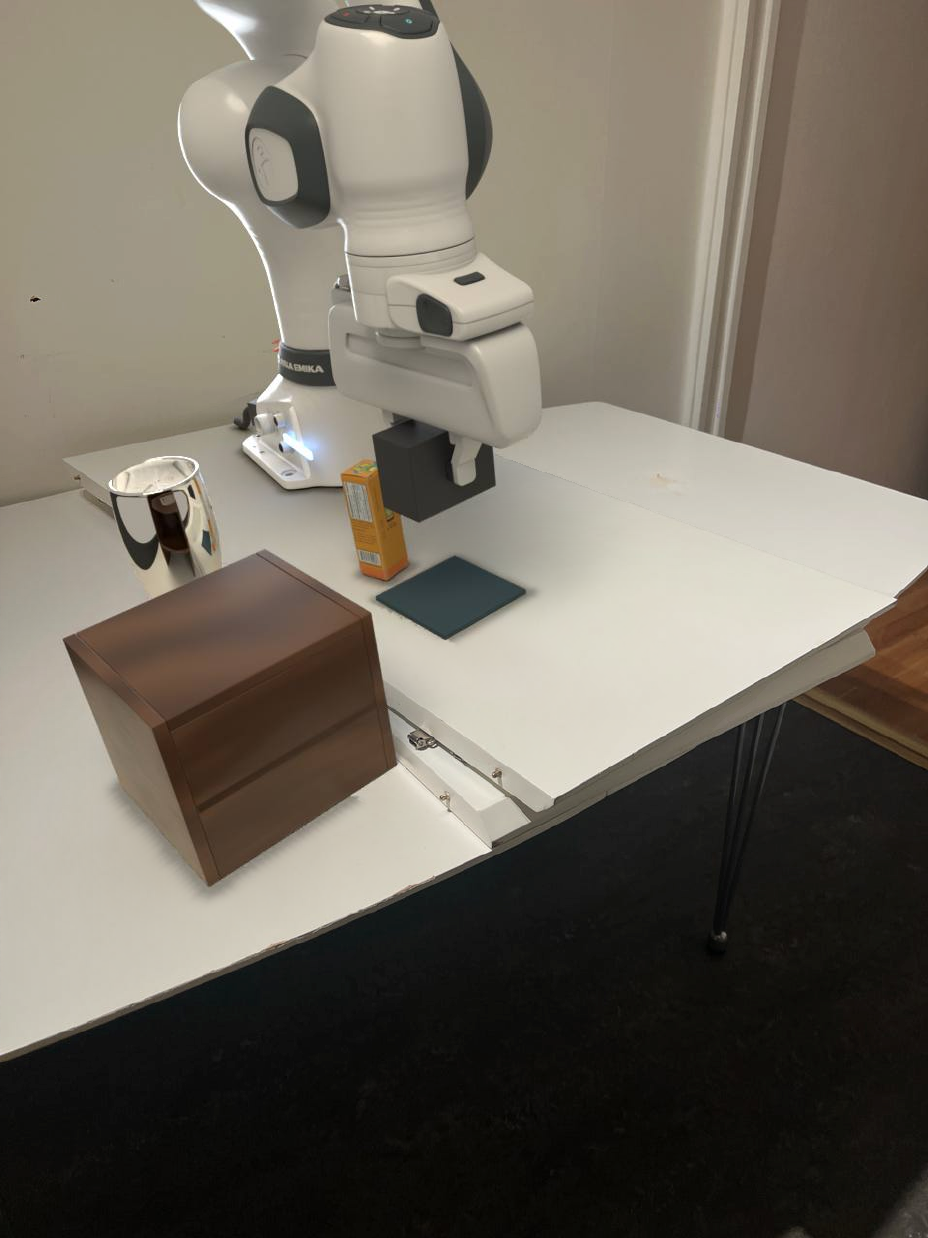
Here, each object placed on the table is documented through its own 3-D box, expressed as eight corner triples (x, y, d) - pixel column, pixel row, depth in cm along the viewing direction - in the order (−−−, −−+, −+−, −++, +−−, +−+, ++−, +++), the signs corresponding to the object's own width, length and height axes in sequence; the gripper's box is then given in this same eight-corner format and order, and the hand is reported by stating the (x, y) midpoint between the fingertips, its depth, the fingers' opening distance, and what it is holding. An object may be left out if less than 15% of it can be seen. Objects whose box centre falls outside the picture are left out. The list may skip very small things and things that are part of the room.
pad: (376, 599, 77) (375, 595, 77) (455, 558, 82) (454, 554, 82) (445, 639, 71) (444, 635, 71) (526, 593, 76) (525, 589, 76)
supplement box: (380, 557, 83) (364, 455, 78) (410, 565, 81) (395, 462, 76) (356, 574, 81) (338, 470, 76) (386, 583, 79) (370, 478, 74)
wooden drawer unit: (121, 786, 60) (61, 638, 54) (298, 689, 68) (264, 548, 61) (208, 887, 52) (151, 728, 46) (397, 764, 60) (372, 612, 53)
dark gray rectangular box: (383, 507, 71) (371, 434, 67) (459, 472, 75) (452, 402, 72) (418, 523, 68) (408, 448, 64) (496, 485, 72) (490, 413, 69)
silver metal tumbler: (166, 680, 70) (107, 504, 62) (154, 635, 75) (99, 469, 67) (254, 653, 72) (209, 479, 64) (236, 612, 77) (193, 447, 69)
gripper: (295, 280, 68) (327, 453, 75) (479, 318, 54) (496, 524, 62) (362, 261, 71) (387, 429, 79) (552, 293, 58) (560, 491, 65)
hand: (437, 471), depth 70 cm, fingers closed on dark gray rectangular box, 4 cm apart
